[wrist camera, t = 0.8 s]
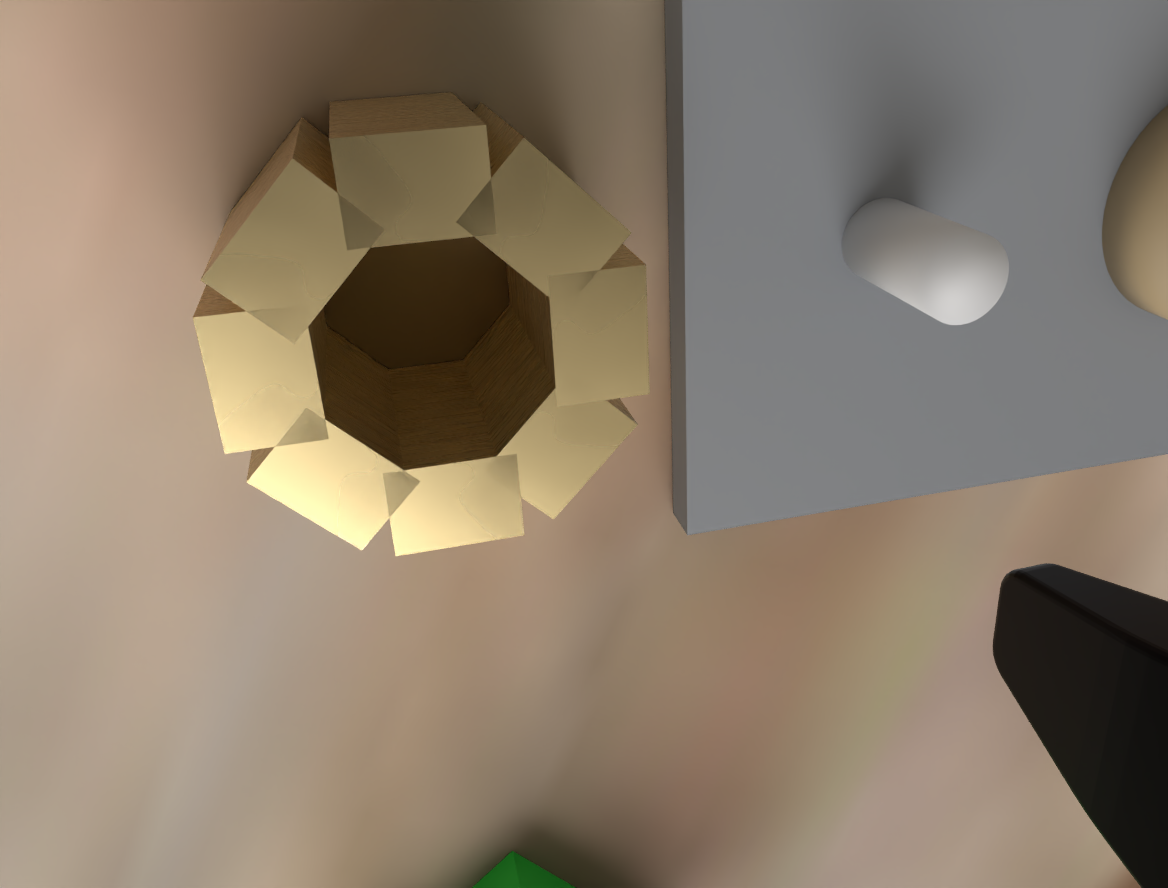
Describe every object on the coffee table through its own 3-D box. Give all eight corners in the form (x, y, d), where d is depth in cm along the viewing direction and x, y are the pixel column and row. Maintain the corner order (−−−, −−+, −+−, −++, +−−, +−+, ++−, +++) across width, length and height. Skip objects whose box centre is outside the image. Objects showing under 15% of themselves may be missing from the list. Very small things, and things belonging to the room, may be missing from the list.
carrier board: (1387, -132, 20) (1618, -156, 16) (1245, 419, 25) (1396, 491, 21) (663, -96, 17) (750, -117, 13) (673, 513, 22) (737, 613, 19)
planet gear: (572, 82, 18) (642, 111, 14) (591, 411, 21) (652, 514, 17) (196, 112, 17) (153, 153, 13) (270, 457, 20) (254, 579, 16)
